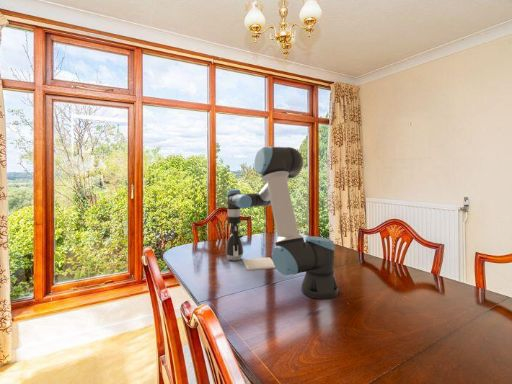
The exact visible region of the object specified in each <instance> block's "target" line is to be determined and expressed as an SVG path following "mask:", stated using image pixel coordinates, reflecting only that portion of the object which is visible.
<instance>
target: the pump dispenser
mask: <svg viewBox="0 0 512 384" xmlns="http://www.w3.org/2000/svg"><path fill="white" fill-rule="evenodd" d="M241 238H244V234H241V235H238V241H239V245H238V256H236V257H234V256H233V246H232V244H234V242H233V234H231V233H230V235H229V237H228V239H227V243H226V246H225V247H226V248H225V255H226V257H227V258H228V260H231V261H238V260H240V259H241V258H242V257H243V254H244V249H243V248H244V247H243V246H244V245H243V241H242V240H241Z"/></svg>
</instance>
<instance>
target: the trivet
mask: <svg viewBox="0 0 512 384" xmlns="http://www.w3.org/2000/svg"><path fill="white" fill-rule="evenodd" d="M242 263H243V265H244V267H245V269H246V271H255V270H264V269H265V270H268V269H269V270H270V269H276V267H275V266H274V263H273V260H272V258H271V257H257V258H246V259H245V258H244V259H242Z"/></svg>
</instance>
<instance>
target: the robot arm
mask: <svg viewBox="0 0 512 384" xmlns="http://www.w3.org/2000/svg"><path fill="white" fill-rule="evenodd" d="M253 163H254V171H255V172H256V173H257V174H259V175H261V178H262V180H263V182H265V185H264V186H263V187H262V188H261V189H260V191H258V192H256V193H253V192H252V193H241V190H240V189H236V188H231V189H228V190H227V195H226V197H227V203H226V204H227V208H226V209H227V223H228V224H230V235H231V234H233V242H234V244H232V246H233V256H234V257H236V256H238V245H239V241H238V236H239V226H238V224H240V223H241V221H242V217H241V215H242V214H241V212H242V211H243V210H242V209H248V208H255V207H267V206H271V211H272V216H273V220H274V225H275V231H276V236H277V238H276V239H275V242H274V245H275V246H273V248H272V250H271V260H272V261H273V263H274V266H275V267H276V268H275V269H276V270H277V271H278V273H280V274H281V275H282V276H291V275H292V276H293V275H295V276H296V275H298V274H301V273H305V274H304V277H303V279H302V283H301V292H302V294H304V296H307V297H310V298H312V299H318V300H328V299H332V298H335V297H337V296H338V293H339V286H338V284H337V280H336V277H335V243H334V241H333V240H332V239H330V238H327V237H321V236H313V235H311V236H306V237H305V239H304V236H303V235H301V234H300V233H299V230H298V226H297V220H296V216H295V212H294V211H295V210H294V206H293V201H292V197H291V194H290V189H289V184H288V183H289V181H290V180H291V179H294V178H296V177H297V175H299V173H300V172H301V171H302V169H303V166H304V159H303V155H302V154H301V152H300V151H299V150H297V149H296V148H294V147H290V146H289V147H288V146H287V147H285V146H270V145H269V146H262V147H260V148H259V149H258V150H257V152H256V153H255V157H254V161H253Z"/></svg>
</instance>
